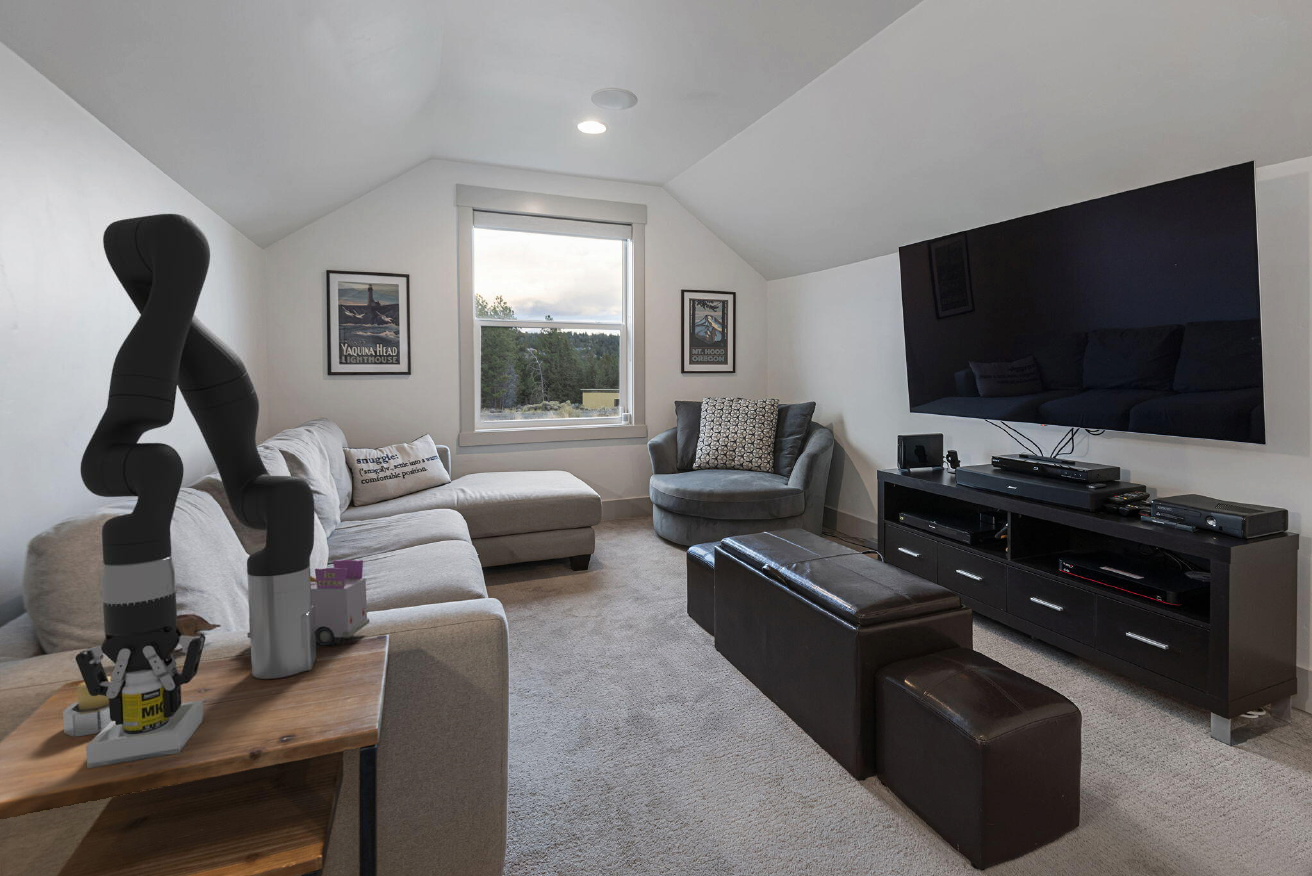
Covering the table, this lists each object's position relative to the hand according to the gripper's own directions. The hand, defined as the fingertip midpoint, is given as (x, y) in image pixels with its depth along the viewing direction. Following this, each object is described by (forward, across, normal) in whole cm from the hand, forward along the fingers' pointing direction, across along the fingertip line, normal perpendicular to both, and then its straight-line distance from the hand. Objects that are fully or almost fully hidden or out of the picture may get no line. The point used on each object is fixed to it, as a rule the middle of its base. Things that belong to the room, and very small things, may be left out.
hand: (146, 717), depth 85 cm
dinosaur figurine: (+4, +9, -39) cm, 40 cm away
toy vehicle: (+3, -14, -35) cm, 38 cm away
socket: (+3, +9, -9) cm, 13 cm away
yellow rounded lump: (0, +9, -9) cm, 13 cm away
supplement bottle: (+2, 0, 0) cm, 2 cm away
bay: (+3, 0, 0) cm, 3 cm away
